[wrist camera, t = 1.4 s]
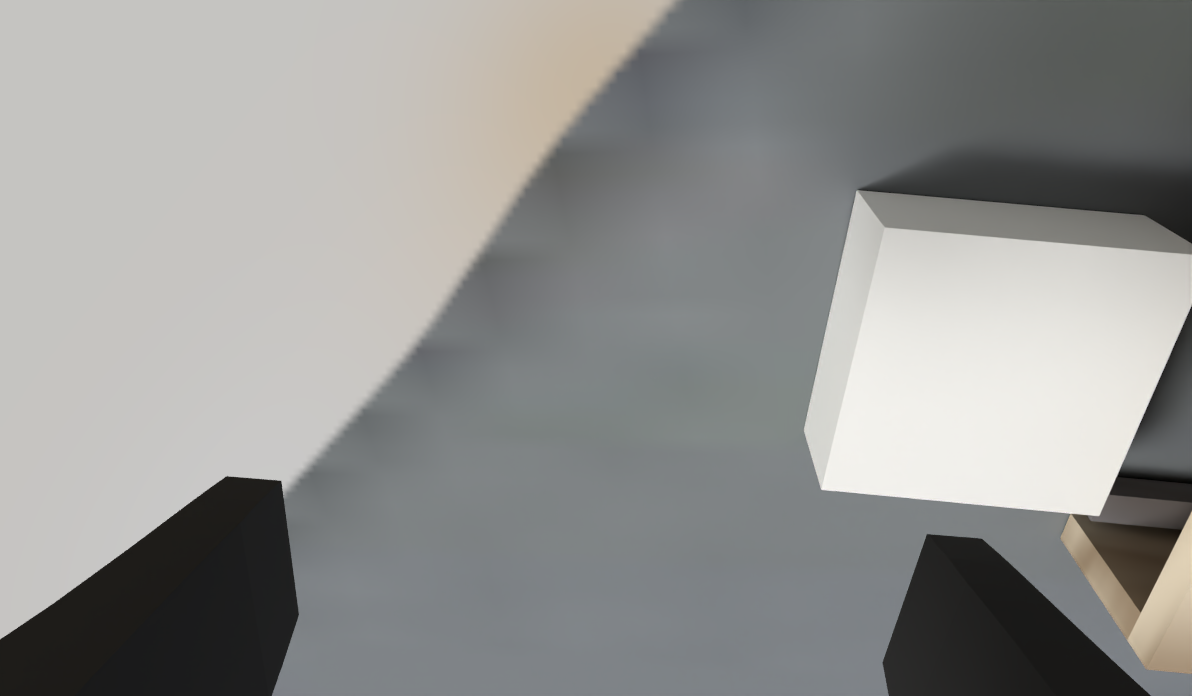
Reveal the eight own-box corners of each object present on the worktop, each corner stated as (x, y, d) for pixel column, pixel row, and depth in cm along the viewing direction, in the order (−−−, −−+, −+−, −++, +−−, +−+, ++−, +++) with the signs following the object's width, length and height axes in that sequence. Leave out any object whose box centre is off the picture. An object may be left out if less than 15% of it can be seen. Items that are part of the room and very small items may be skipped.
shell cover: (1052, 453, 20) (1099, 516, 18) (803, 429, 20) (821, 489, 18) (1144, 215, 17) (1212, 256, 15) (856, 190, 18) (884, 227, 15)
